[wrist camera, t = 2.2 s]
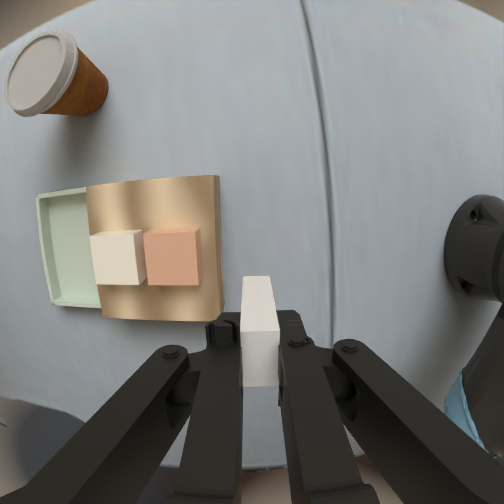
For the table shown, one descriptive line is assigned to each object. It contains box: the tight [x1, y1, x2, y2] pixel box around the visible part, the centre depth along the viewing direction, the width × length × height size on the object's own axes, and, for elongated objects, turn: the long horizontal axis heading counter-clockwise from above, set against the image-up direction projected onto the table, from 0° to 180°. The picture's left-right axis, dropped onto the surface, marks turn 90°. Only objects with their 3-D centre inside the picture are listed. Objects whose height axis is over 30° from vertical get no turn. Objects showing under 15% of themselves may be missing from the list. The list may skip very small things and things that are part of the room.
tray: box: [36, 187, 101, 308], centre depth 33 cm, size 10×15×2 cm, turn 1°
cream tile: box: [89, 230, 147, 285], centre depth 28 cm, size 5×5×2 cm
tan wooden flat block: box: [86, 175, 224, 321], centre depth 32 cm, size 14×15×5 cm
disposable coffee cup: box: [5, 31, 108, 117], centre depth 24 cm, size 10×10×12 cm
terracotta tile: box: [143, 228, 203, 285], centre depth 28 cm, size 5×5×2 cm
